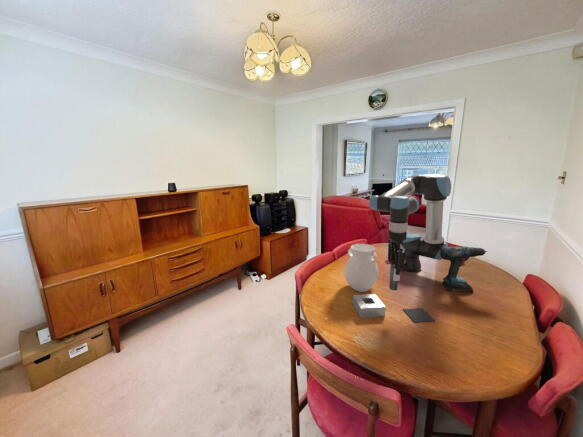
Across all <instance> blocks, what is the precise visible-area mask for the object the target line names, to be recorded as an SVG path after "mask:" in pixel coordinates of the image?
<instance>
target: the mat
mask: <svg viewBox="0 0 583 437" xmlns="http://www.w3.org/2000/svg"><path fill="white" fill-rule="evenodd" d="M402 311H403V312H404V313H405V314H406V315H407V316H408V318H409V319H410V320H411V321H412V322H413V323H414V324H415V323H427V322H428V323H429V322H436V319H435V318H434V317H433V316H432V315H431V314H430V313H429V312H427V310H425V309H424V308H423V307H416V308H415V307H414V308H412V307H411V308H402Z"/></svg>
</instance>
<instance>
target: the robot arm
mask: <svg viewBox="0 0 583 437" xmlns="http://www.w3.org/2000/svg"><path fill="white" fill-rule="evenodd" d="M451 192H452V180H451V178H450V177H449V176H448V175H444V174H442V175H441V174H416V175H412V176H408V177H406V178H404V179H402V180H400V182H399V183H398V184H396V186H395V187H392V188H391V189H388V191H386V192H383V193H382V194H381V195H377V194H376V195H374V194H373V195H372V196H371V197H370V198H369V204H368V205H369V208H370V209H371V210H373V211H377V212H378V211H379V212H387V213H389V223H388V226H389V227H388V229H389V230H388V239H387V260H395V267H394V275H393V281H398V282H399V281H400V279H401V271H405V272H409V273H417V272H420V271H422V265H421V264H422V263H421V261H420V257H424V258H428V259H432V260H438V261H440V260H443V259H442V258H441V256H440V249H441V248H442V247H449V244H448V242H446V241H445V238H444V237H443V236H442V235H443V214H444V202H445V201H446V200H447V198H448V197H450V195H451ZM410 195H422V196H423V200H424V201H426V207H425V208H426V212H425V213H426V214H425V216H426V218H425V235H424V236H423V237H422V235H421V234H418V233H408V232H407V231H408V226H409V225H408V223H409V222H408V220H409V215H412V214H414V213H415V212H417V211H418V210H419V208H420V203H419V200H418V199H417V198H415V197H413V196H412V197H411V196H410ZM408 196H409V197H408ZM404 261H406V262H405V263H404ZM390 270H391V264H389V272H388V273H389V275H388V277H390Z"/></svg>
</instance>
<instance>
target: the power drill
mask: <svg viewBox="0 0 583 437" xmlns="http://www.w3.org/2000/svg"><path fill="white" fill-rule="evenodd" d="M487 252H488V251H487V250H486V249H484V248H482V247H472V246H471V247H469V246H465V245H461V246H452V245H448V246H447V247H442V248H441V249H440V256H441V258H442V259H441V260H445V261H450V264H449V268H448V272H447V275H446V276H444V277H443V278H442V280H443V281H442V282H441V284H442V286H443V287H444V288H445V289H446V290H447V291H449V292H450V291H451V292H463V293H473V292H474V289H473V287H472V286H471V284H470V283H469V282H468V281H467V280H466V279H465V278H464V277H462V276H461V275H460V276H458V274H459V270H460V268H461V267H462V266H463V267H464V266H466V264H465V262H466V261H468V260H469V258H476V257H480V256H481V257H482V256H484V255H485V254H487Z"/></svg>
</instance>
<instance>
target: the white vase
mask: <svg viewBox="0 0 583 437" xmlns="http://www.w3.org/2000/svg"><path fill="white" fill-rule="evenodd" d="M347 255H348V257H349V259H348V261H347V262H346V263H345V268H344V269H345V270H344V277H345V281H346V282H347V284H348V285H349V286H350V288H352V289H353V290H354V291H357V292H361V293H363V292H364V293H365V292H368V291H369V290H370V289H372V287H373V286H374V285H375V284H376V282H377V280H378V277H379V266H378V264H377V260H378V254H377V253H376V247H374V246H373V245H371V244H368V243H355V244H352V245H351V246H350V247H349V249H348V250H347Z"/></svg>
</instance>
